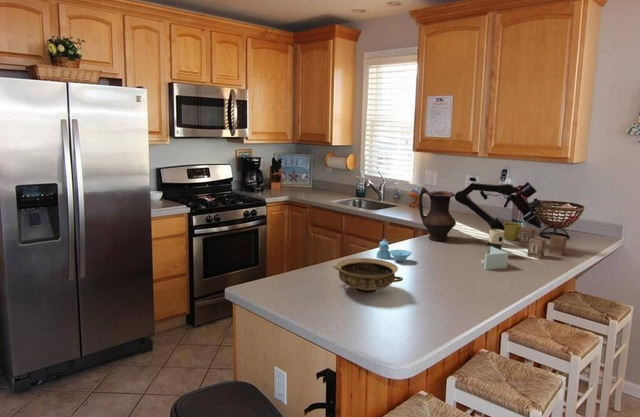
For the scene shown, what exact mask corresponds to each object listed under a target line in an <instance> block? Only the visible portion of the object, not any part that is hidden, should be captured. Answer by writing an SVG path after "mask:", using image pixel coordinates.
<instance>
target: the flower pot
mask: <svg viewBox="0 0 640 417" xmlns="http://www.w3.org/2000/svg"><path fill="white" fill-rule="evenodd" d="M503 223H504V222H503ZM504 224H505V229H504V240H507V241H508V240H509V241H515V240H517V238H519V236H520V229H521V228H522V224H521V223H515V222H508V221H507V222H505V223H504Z"/></svg>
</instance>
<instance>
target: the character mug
mask: <svg viewBox="0 0 640 417" xmlns="http://www.w3.org/2000/svg"><path fill="white" fill-rule="evenodd" d="M488 240H489V242H490V243H491V244H490V246H488V247H489V248H488V252H487V254H490V247H494V248H496V249H499V250H502V245H503V244H504V240H505V238H504V231H503V230H499V229H491V228H489V230H488ZM501 244H502V245H501Z"/></svg>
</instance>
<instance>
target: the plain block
mask: <svg viewBox="0 0 640 417" xmlns="http://www.w3.org/2000/svg"><path fill="white" fill-rule="evenodd" d="M567 238H568V237H567V236H561V235H558V234H557V235H556V234H554V235H551V236H550V239H549V248H548V254H549V255H556V256H560V257H561V256H563V255H565V254H566V246H567Z"/></svg>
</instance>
